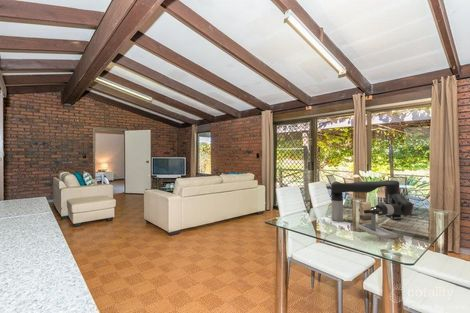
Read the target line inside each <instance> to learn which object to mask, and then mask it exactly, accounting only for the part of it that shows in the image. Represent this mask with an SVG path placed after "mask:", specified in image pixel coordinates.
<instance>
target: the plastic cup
mask: <svg viewBox="0 0 470 313" xmlns="http://www.w3.org/2000/svg"><path fill="white" fill-rule="evenodd" d="M408 201H409V202H411V203H412V205H413V207H412V211H411V214H410V215H409V216H411V215H412V213H413V208H414V205H415V204H416V203H415V202H414V201H411V200H408Z"/></svg>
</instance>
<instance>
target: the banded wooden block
mask: <svg viewBox="0 0 470 313" xmlns="http://www.w3.org/2000/svg"><path fill="white" fill-rule="evenodd" d="M371 207H372V203H371V202H368V201H363V202H362V201H359V208H360V212H359V223H360V224H361V225H363V224H371V214H370V213H368V214H365V213H364V210H371Z"/></svg>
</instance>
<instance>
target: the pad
mask: <svg viewBox="0 0 470 313" xmlns="http://www.w3.org/2000/svg"><path fill="white" fill-rule="evenodd" d="M351 234H352V235H354V236H356V237H357V238H359V239H360V240H362V241H365V242H367V241H379V240H380V241H381V238H379V237H377V236H375V235H373V234H371V233H369V232H367V231H363V232H362V231H361V232H351Z"/></svg>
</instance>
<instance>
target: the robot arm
mask: <svg viewBox="0 0 470 313" xmlns="http://www.w3.org/2000/svg"><path fill="white" fill-rule="evenodd" d="M385 186H386V192H387V193H388V194H389V195H390V196H391V197H392V198H393V199H394V200H395V202H396V204H385V203H381V204H375V206H371V210H364V213H365V214H368V213H370V214H376V216H381V217H382V216H386V215H391V214H398V215H401V216H404V217H408V216H411V215H412V214H411V211H412V212H413V209H412V207H413V208H414V205H412V203H411V202H412V201H411V202H409V201H410V200H408V199H407V198H406V197H405V196H404V195H403V194H401V193H400V194H399V189H400V181H398V180H389V179H388V180H378V181H355V182H344V183H343V182H340V181H334V182H332V183H331V186H330V192H331V194H330V195H331V221H334V220H335V222H342V221H344V197H343V193H361V194H362V193H371V192H373V191H375V190H377V189H379V188H385ZM358 212H359V213H360V207H359V208H358ZM410 214H411V215H410Z"/></svg>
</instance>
